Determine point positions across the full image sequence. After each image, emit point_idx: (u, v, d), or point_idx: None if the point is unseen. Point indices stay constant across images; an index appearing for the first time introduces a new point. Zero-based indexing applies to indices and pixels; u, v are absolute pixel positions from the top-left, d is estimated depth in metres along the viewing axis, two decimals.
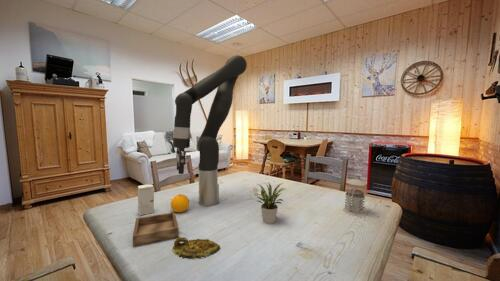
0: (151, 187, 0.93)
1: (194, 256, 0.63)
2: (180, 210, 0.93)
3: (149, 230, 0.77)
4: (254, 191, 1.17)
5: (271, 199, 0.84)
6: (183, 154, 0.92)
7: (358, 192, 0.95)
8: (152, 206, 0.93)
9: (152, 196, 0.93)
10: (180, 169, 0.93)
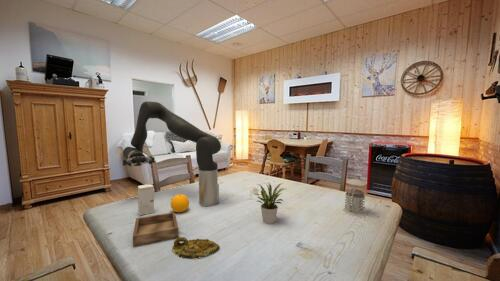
0: (151, 187, 0.93)
1: (193, 256, 0.63)
2: (180, 210, 0.93)
3: (149, 230, 0.77)
4: (254, 191, 1.17)
5: (271, 199, 0.84)
6: None
7: (358, 192, 0.95)
8: (152, 206, 0.93)
9: (152, 196, 0.93)
10: (127, 164, 1.00)
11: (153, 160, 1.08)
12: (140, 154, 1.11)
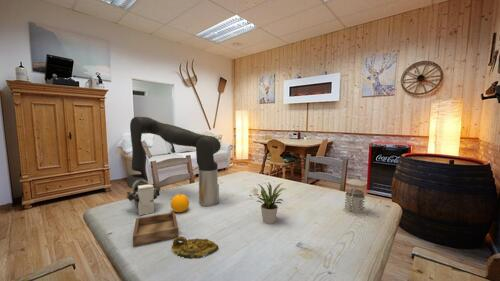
0: (151, 187, 0.93)
1: (192, 256, 0.63)
2: (180, 210, 0.93)
3: (149, 230, 0.77)
4: (254, 191, 1.17)
5: (271, 199, 0.84)
6: (127, 194, 0.95)
7: (358, 192, 0.95)
8: (152, 206, 0.93)
9: (152, 196, 0.93)
10: None
11: (157, 193, 0.98)
12: None
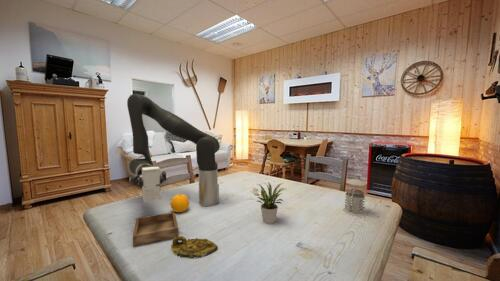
0: (157, 169, 0.80)
1: (191, 255, 0.63)
2: (180, 210, 0.93)
3: (149, 230, 0.77)
4: (254, 191, 1.16)
5: (271, 199, 0.84)
6: (129, 178, 0.83)
7: (358, 192, 0.95)
8: (158, 191, 0.81)
9: (158, 180, 0.81)
10: (138, 183, 0.78)
11: (164, 177, 0.86)
12: None
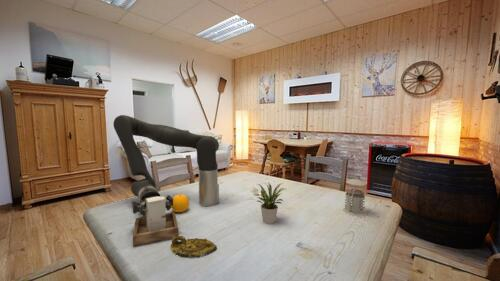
0: (163, 200, 0.76)
1: (190, 255, 0.63)
2: (180, 210, 0.93)
3: None
4: (254, 191, 1.16)
5: (271, 199, 0.84)
6: (132, 205, 0.79)
7: (358, 192, 0.95)
8: (164, 223, 0.77)
9: (164, 211, 0.77)
10: (139, 212, 0.74)
11: (171, 202, 0.82)
12: (154, 193, 0.85)
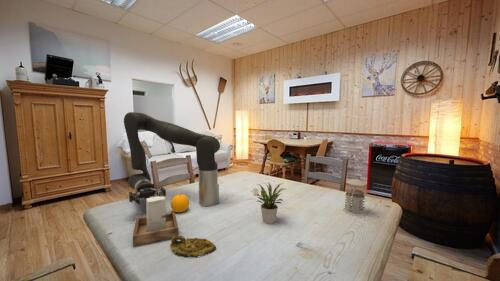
0: (163, 200, 0.76)
1: (189, 255, 0.63)
2: (180, 210, 0.93)
3: None
4: (255, 192, 1.16)
5: (271, 199, 0.84)
6: None
7: (358, 192, 0.95)
8: (164, 223, 0.77)
9: (164, 211, 0.77)
10: (135, 201, 0.84)
11: (164, 193, 0.93)
12: (149, 185, 0.96)
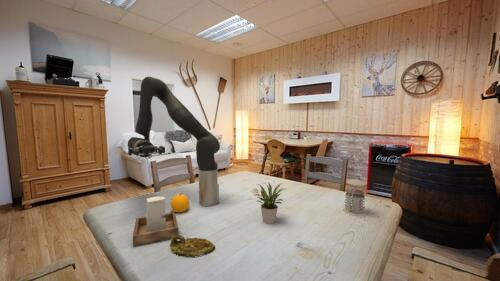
0: (163, 200, 0.76)
1: (188, 255, 0.64)
2: (180, 210, 0.93)
3: None
4: (255, 192, 1.16)
5: (271, 199, 0.84)
6: None
7: (358, 192, 0.95)
8: (164, 223, 0.77)
9: (164, 211, 0.77)
10: (134, 153, 0.84)
11: (163, 150, 0.92)
12: (148, 143, 0.95)
